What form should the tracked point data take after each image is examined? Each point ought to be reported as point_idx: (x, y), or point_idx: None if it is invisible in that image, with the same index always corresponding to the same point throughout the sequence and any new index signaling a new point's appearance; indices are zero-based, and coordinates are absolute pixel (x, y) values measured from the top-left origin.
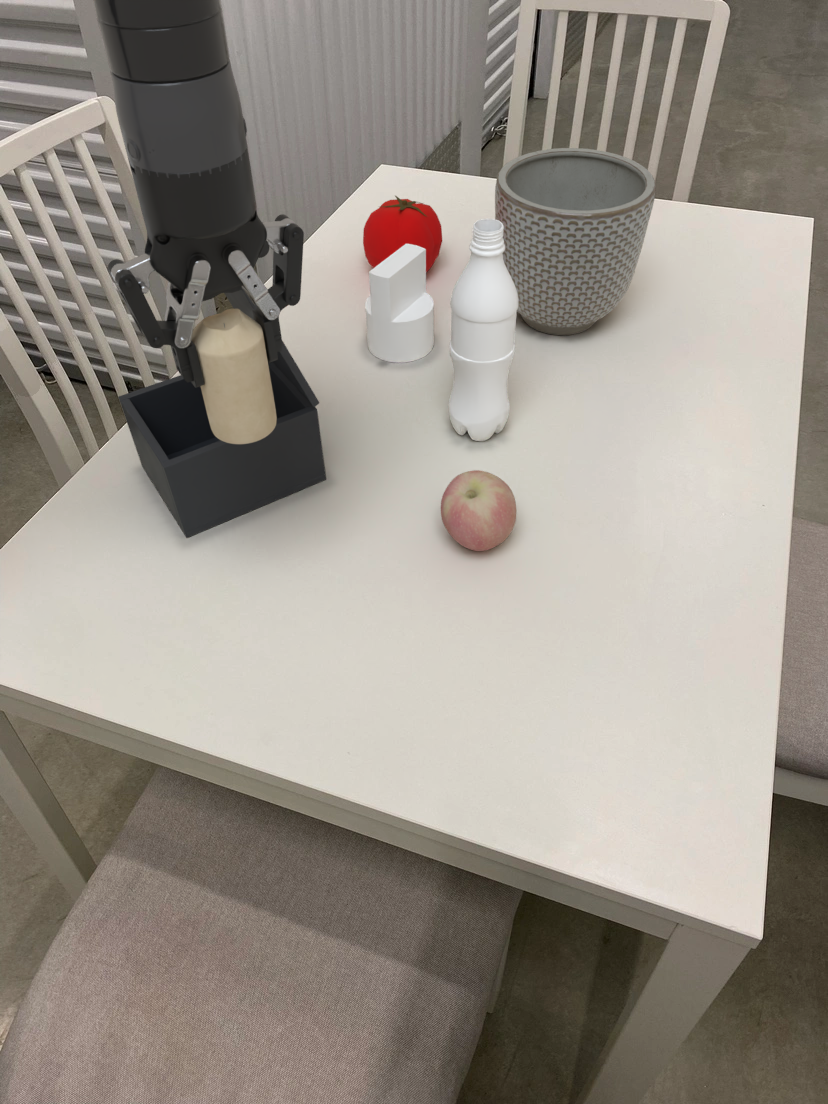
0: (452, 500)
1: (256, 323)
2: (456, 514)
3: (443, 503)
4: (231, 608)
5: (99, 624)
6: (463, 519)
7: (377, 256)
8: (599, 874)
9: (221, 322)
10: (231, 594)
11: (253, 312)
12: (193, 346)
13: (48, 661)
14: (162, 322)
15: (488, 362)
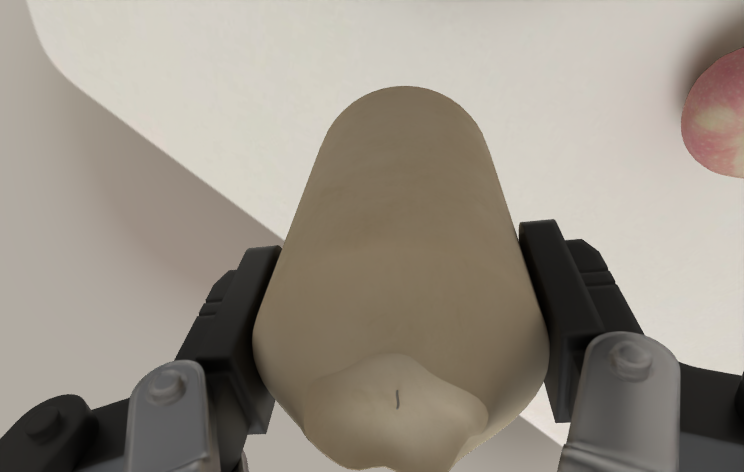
0: (727, 126)
1: (533, 386)
2: (708, 147)
3: (713, 105)
4: (332, 65)
5: (148, 14)
6: (709, 158)
7: None
8: (528, 417)
9: (395, 359)
10: (337, 38)
11: (558, 344)
12: (258, 432)
13: (88, 52)
14: (118, 467)
15: None
